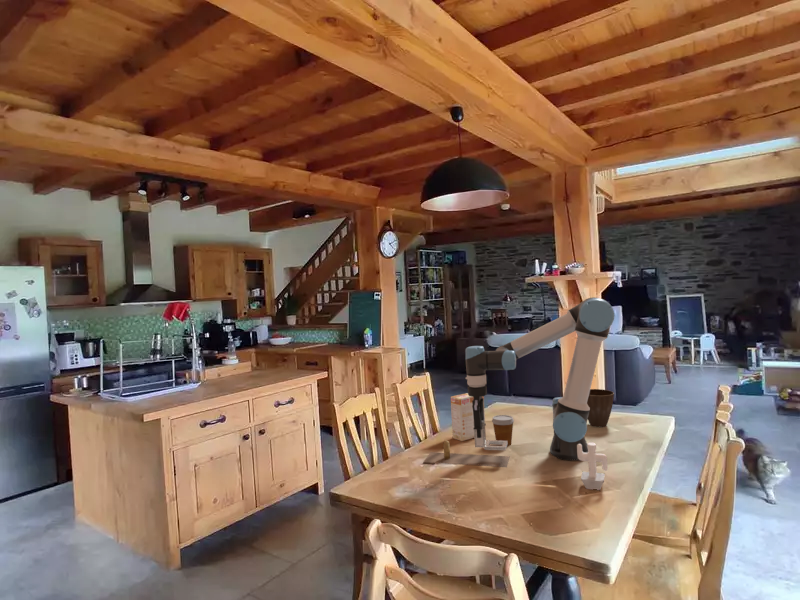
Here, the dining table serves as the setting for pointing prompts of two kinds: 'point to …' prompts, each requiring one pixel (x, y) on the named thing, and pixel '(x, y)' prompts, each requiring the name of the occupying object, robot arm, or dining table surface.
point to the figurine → (592, 466)
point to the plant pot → (599, 407)
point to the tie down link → (490, 441)
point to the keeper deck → (465, 458)
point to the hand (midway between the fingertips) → (480, 443)
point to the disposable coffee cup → (503, 428)
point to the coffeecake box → (462, 417)
